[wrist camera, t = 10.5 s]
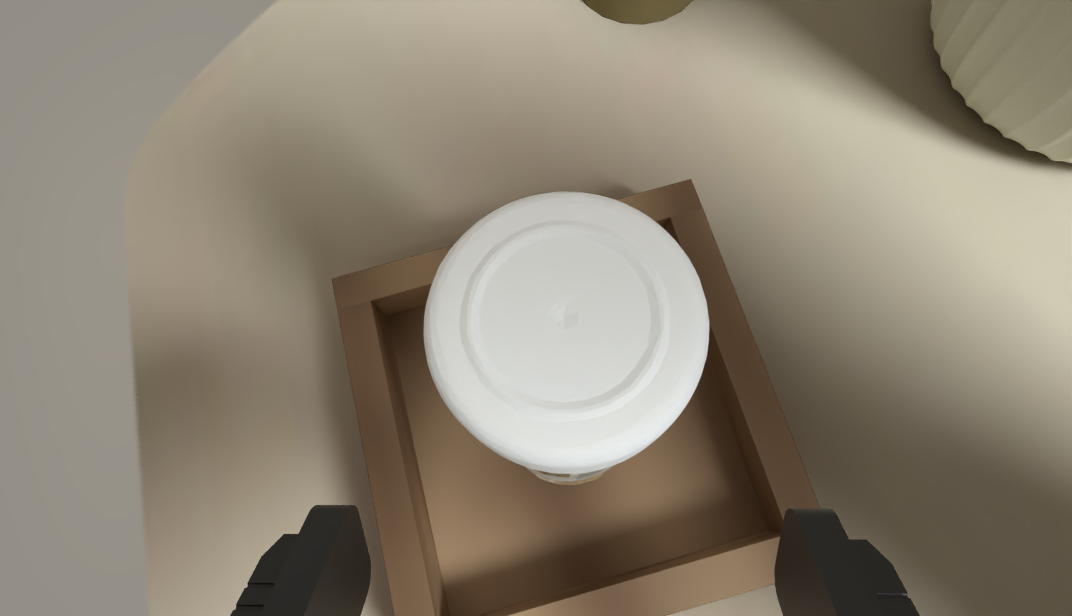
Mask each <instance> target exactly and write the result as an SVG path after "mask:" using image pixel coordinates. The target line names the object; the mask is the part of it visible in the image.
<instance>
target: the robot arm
mask: <svg viewBox="0 0 1072 616" xmlns="http://www.w3.org/2000/svg"><path fill="white" fill-rule="evenodd" d="M370 576H371V563H370V557H369V552H368V548H367V544H366V540H365V536H364V532H363V528H362V524H361V520H360V516H359V512H358V509H357V507H356V506H354V505H315V506H314V507H313V508H312V509H311V510H310V512H309V514H308V516H307V518H306V520H305V522H304V524H303V526H302V528H301V530H300V532H299V534H284V535H283V536H282V537H281V538H280V539H279V540H278V541H277V542H276V543H275V544H274V545H273V546H272V547H271V548H270V549H269V550H268V551H267V552H266V553H265V554H264V555H263V556H262V557H261V559H260V560H259V562H258V564H257V566H256V568H255V570H254V572H253V574H252V576H251V577H250V579H249V581H248V587H247V588H245V589H244V591H243V593H242V595H241V596H240V598H239V600H238V602H237V604H236V610H233V612H232V614H231V615H230V616H360V615H361V612H362V609H363V606H364V603H365V600H366V597H367V593H368V589H369V584H370ZM774 576H775V586H776V592H777V597H778V601H779V604H780V607H781V610H782V613H783V616H920V615H919V614H918V612H917V610H916V608H915V606H914V604H913V603H912V601H911V599H910V598H908V596H907V591H906V590H905V588H904V586H903V584H902V582H901V580H900V578H899V577H898V575H897V573H896V571H895V569H894V567H893V565H892V564H891V563H890V562H889V561H888V560H887V559H886V558H885V557H884V556H883V555H882V554H881V553H880V552H879V551H878V550H877V549H876V548H875V547H874V546H873V545H871V544H870V543H869V542H868V541H867V540H849V539H848V537H847V535H846V533H845V531H844V529H843V527H842V524H841V522H840V520H839V518H838V516H837V515H836V513H835V512H834V511H833V510H832V509H795V508H789V509H787V510H786V512H785V515H784V520H783V525H782V530H781V535H780V540H779V546H778V551H777V556H776V561H775V569H774Z"/></svg>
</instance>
